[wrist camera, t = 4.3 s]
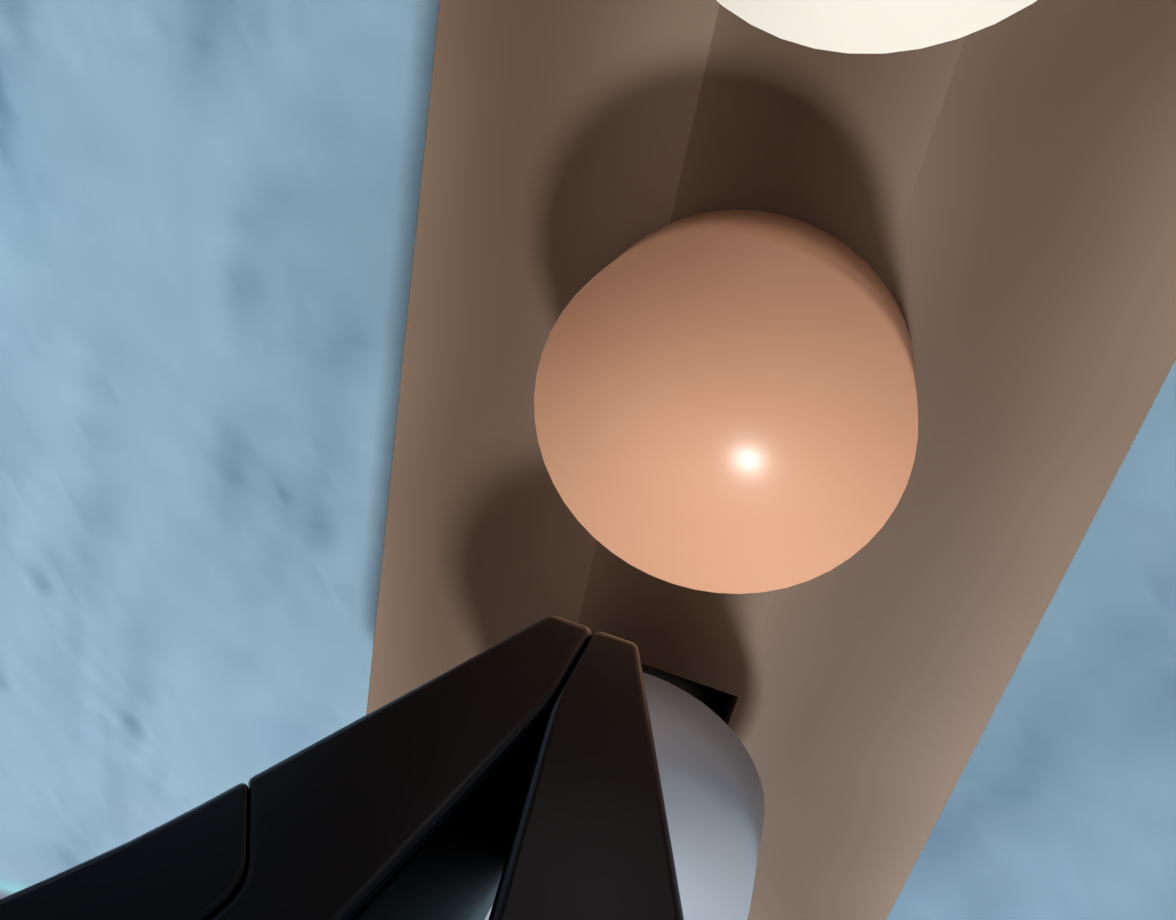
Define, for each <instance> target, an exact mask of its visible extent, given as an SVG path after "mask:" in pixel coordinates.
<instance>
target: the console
mask: <svg viewBox="0 0 1176 920" xmlns="http://www.w3.org/2000/svg"><path fill="white" fill-rule="evenodd" d="M734 209H737V210H758V211H764V212H770V213H775V214H781V215H785V216H788V217H791V218H794V219H797V220H800V221H803V222H806V223H808V224H810V225H813V226H815V227H817V228H819V229H821V230H823V231H825V232H827V233H829V234H830V235H832V236H834V237H835V238H837V239H838V240H840V241H841V242H843V243H844V244H846V245H847V246H849V247H850V248H851V249H852V250H853V251H854V252H856V253H857V254H858V255H859V256H860V257H861V258H862V259H864V260H865V261H866V262H867V263H868V264H869V265H870V267H871V268H872V269H873V270H874V271H875V272H876V274H877V275H878V276H879V277H880V278H881V279H882V280H883V282H884V283H885V285H886V287H887V288H888V290H889V291H890V293H891V294H892V296H893V297H894V299H895V301H896V303H897V305H898V307H899V309H900V311H901V314H902V316H903V318H904V320H905V322H906V326H907V329H908V332H909V336H910V339H911V343H912V348H913V355H914V362H915V372H916V388H917V403H918V441H917V447H916V454H915V460H914V464H913V468H912V471H911V474H910V477H909V480H908V483H907V486H906V488H905V490H904V492H903V494H902V496H901V498H900V500H899V503H898V505H897V507H896V508H895V510H894V511H893V513H892V514H891V515H890V517H889V518H888V520H887V521H886V523H885V524H884V526H883V527H882V528H881V529H880V530H879V531H878V532H877V534H876V535H875V536H874V537H873V538H872V539H871V540H870V541H869V542H868V543H867V544H866V545H865V546H864V547H863V548H861V549H860V550H859V551H858V552H857V553H855V554H854V555H853V556H852V557H851V558H849V559H848V560H846V561H845V562H843V563H842V564H840V565H838V566H837V567H835V568H834V569H832V570H830V571H829V572H826V573H824V574H822V575H820V576H818V577H816V578H813V579H811V580H809V581H806V582H803V583H800V584H797V585H794V586H791V587H788V588H783V589H778V590H773V591H767V592H760V593H747V594H729V593H714V592H707V591H701V590H694V589H690V588H687V587H683V586H679V585H676V584H672V583H669V582H667V581H664V580H662V579H659V578H656V577H654V576H651V575H649V574H647V573H645V572H643V571H641V570H640V569H638V568H636V567H634V566H632V565H630V564H628V563H627V562H625V561H624V560H622V559H621V558H619V557H618V556H617V555H615V554H614V553H612V552H611V551H609V550H608V549H607V548H606V547H605V546H603V545H602V544H601V543H600V542H599V541H598V540H596V539H595V538H594V537H593V536H592V535H591V534H590V533H589V532H588V531H587V530H586V529H585V528H584V527H583V525H582V524H581V523H580V522H579V521H578V520H577V519H576V517H575V516H574V515H573V513H572V512H571V511H570V509H569V508H568V507H567V505H566V504H565V503H564V501H563V499H562V498H561V496H560V494H559V493H558V491H557V489H556V487H555V486H554V484H553V482H552V480H551V477H550V475H549V473H548V470H547V468H546V466H545V463H544V460H543V457H542V453H541V450H540V447H539V443H538V438H537V432H536V425H535V417H534V393H535V383H536V375H537V371H538V367H539V363H540V359H541V355H542V352H543V349H544V347H545V344H546V342H547V339H548V337H549V334H550V332H551V330H552V328H553V327H554V325H555V323H556V321H557V320H558V318H559V316H560V315H561V313H562V311H563V310H564V309H565V308H566V306H567V305H568V304H569V302H570V301H571V300H572V299H573V297H574V296H575V295H576V294H577V293H578V292H579V291H580V290H581V289H582V288H583V287H584V286H585V285H586V284H587V283H588V282H589V281H590V280H591V279H592V278H593V277H594V276H596V275H597V274H598V273H599V272H600V271H602V270H603V269H604V268H605V267H606V266H608V265H609V264H610V263H611V262H613V261H614V260H615V259H616V258H617V257H619V256H620V255H621V254H622V253H623V252H625V251H626V250H627V249H628V248H630V247H631V246H632V245H634V244H635V243H636V242H638V241H639V240H641V239H642V238H643V237H645V236H646V235H648V234H650V233H652V232H654V231H655V230H657V229H659V228H661V227H663V226H665V225H667V224H669V223H672V222H675V221H678V220H680V219H683V218H686V217H689V216H693V215H697V214H702V213H706V212H711V211H722V210H734ZM1175 360H1176V0H1037V1H1036V2H1034V3H1033V4H1031V5H1029V6H1027V7H1025V8H1023V9H1022V10H1020V11H1018V12H1016V13H1014V14H1012V15H1011V16H1009V17H1007V18H1005V19H1003V20H1001V21H1000V22H998V23H996V24H994V25H991V26H989V27H986V28H984V29H981V30H979V31H976V32H974V33H971V34H969V35H966V36H964V37H961V38H959V39H956V40H952V41H948V42H944V43H941V44H937V45H933V46H929V47H926V48H922V49H915V50H908V51H900V52H893V53H885V54H848V53H841V52H834V51H827V50H821V49H814V48H810V47H807V46H804V45H800V44H797V43H794V42H790V41H787V40H784V39H781V38H778V37H776V36H774V35H772V34H770V33H768V32H766V31H763V30H761V29H759V28H757V27H755V26H753V25H751V24H749V23H748V22H746V21H745V20H743V19H741V18H740V17H738V16H737V15H735V14H734V13H732V12H731V11H729V10H728V9H726V8H725V7H723V6H722V5H721V4H720V3H719V2H717V1H716V0H440V4H439V13H438V23H437V33H436V43H435V52H434V62H433V72H432V81H431V91H430V101H429V111H428V120H427V130H426V140H425V149H424V159H423V169H422V179H421V188H420V198H419V208H418V217H417V227H416V237H415V247H414V256H413V266H412V276H411V286H410V295H409V305H408V315H407V324H406V334H405V344H404V354H403V363H402V373H401V383H400V392H399V402H398V412H397V422H396V431H395V441H394V451H393V461H392V470H391V480H390V490H389V499H388V509H387V519H386V529H385V538H384V548H383V558H382V567H381V577H380V587H379V597H378V606H377V616H376V626H375V635H374V645H373V655H372V665H371V674H370V684H369V694H368V704H367V713H366V715H368V714H369V713H371V712H373V711H375V710H377V709H379V708H380V707H382V706H384V705H386V704H388V703H390V702H391V701H393V700H395V699H397V698H399V697H401V696H402V695H404V694H406V693H408V692H410V691H412V690H413V689H415V688H417V687H419V686H421V685H423V684H424V683H426V682H428V681H430V680H432V679H434V678H435V677H437V676H439V675H441V674H443V673H445V672H446V671H448V670H450V669H452V668H454V667H456V666H457V665H459V664H461V663H463V662H465V661H467V660H468V659H470V658H472V657H474V656H476V655H478V654H479V653H481V652H483V651H485V650H487V649H489V648H490V647H492V646H494V645H496V644H498V643H500V642H501V641H503V640H505V639H507V638H509V637H511V636H512V635H514V634H516V633H518V632H520V631H522V630H523V629H525V628H527V627H529V626H531V625H533V624H534V623H536V622H538V621H540V620H542V619H544V618H546V617H548V616H557V617H560V618H563V619H566V620H569V621H572V622H574V623H577V624H580V625H583V626H586V627H588V628H589V629H590V630H591V634H592V635H593V634H594V633H596V632H604V633H607V634H610V635H613V636H616V637H619V638H622V639H624V640H627V641H630V642H633V643H634V644H636V646H637V647H638V650H639V654H640V660H641V663H642V664H645V665H648V666H650V667H653V668H656V669H659V670H662V671H665V672H668V673H671V674H674V675H676V676H679V677H682V678H685V679H688V680H691V681H694V682H697V683H700V684H702V685H705V686H708V687H711V688H714V689H717V690H720V691H723V692H725V693H728V694H730V696H729V699H728V702H727V705H726V708H725V711H724V714H723V717H722V720H723V721H724V722H725V723H726V724H727V725H728V726H729V727H730V728H731V729H732V731H733V732H734V733H735V734H736V736H737V737H738V738H739V740H740V741H741V742H742V744H743V745H744V746H745V748H746V750H747V752H748V753H749V755H750V757H751V759H752V760H753V762H754V765H755V767H756V770H757V772H758V775H759V777H760V780H761V785H762V789H763V793H764V805H765V814H764V823H763V830H762V836H761V842H760V848H759V855H758V861H757V867H756V873H755V879H754V885H753V891H752V897H751V904H750V910H749V915H748V918H747V920H886V919H887V917H888V915H889V913H890V911H891V909H892V907H893V905H894V903H895V901H896V899H897V898H898V896H899V894H900V892H901V890H902V888H903V886H904V884H905V882H906V880H907V878H908V876H909V874H910V872H911V870H912V869H913V867H914V865H915V863H916V861H917V859H918V857H919V855H920V853H921V851H922V849H923V847H924V845H925V843H926V841H927V839H928V838H929V836H930V834H931V832H932V830H933V828H934V826H935V824H936V822H937V820H938V818H939V816H940V814H941V812H942V810H943V809H944V807H945V805H946V803H947V801H948V799H949V797H950V795H951V793H952V791H953V789H954V787H955V785H956V783H957V781H958V779H959V778H960V776H961V774H962V772H963V770H964V768H965V766H966V764H967V762H968V760H969V758H970V756H971V754H972V752H973V750H974V749H975V747H976V745H977V743H978V741H979V739H980V737H981V735H982V733H983V731H984V729H985V727H986V725H987V723H988V721H989V720H990V718H991V716H992V714H993V712H994V710H995V708H996V706H997V704H998V702H999V700H1000V698H1001V696H1002V694H1003V692H1004V690H1005V689H1006V687H1007V685H1008V683H1009V681H1010V679H1011V677H1012V675H1013V673H1014V671H1015V669H1016V667H1017V665H1018V663H1019V661H1020V660H1021V658H1022V656H1023V654H1024V652H1025V650H1026V648H1027V646H1028V644H1029V642H1030V640H1031V638H1032V636H1033V634H1034V632H1035V630H1036V629H1037V627H1038V625H1039V623H1040V621H1041V619H1042V617H1043V615H1044V613H1045V611H1046V609H1047V607H1048V605H1049V603H1050V601H1051V600H1052V598H1053V596H1054V594H1055V592H1056V590H1057V588H1058V586H1059V584H1060V582H1061V580H1062V578H1063V576H1064V574H1065V572H1066V571H1067V569H1068V567H1069V565H1070V563H1071V561H1072V559H1073V557H1074V555H1075V553H1076V551H1077V549H1078V547H1079V545H1080V543H1081V541H1082V540H1083V538H1084V536H1085V534H1086V532H1087V530H1088V528H1089V526H1090V524H1091V522H1092V520H1093V518H1094V516H1095V514H1096V512H1097V511H1098V509H1099V507H1100V505H1101V503H1102V501H1103V499H1104V497H1105V495H1106V493H1107V491H1108V489H1109V487H1110V485H1111V483H1112V481H1113V480H1114V478H1115V476H1116V474H1117V472H1118V470H1119V468H1120V466H1121V464H1122V462H1123V460H1124V458H1125V456H1126V454H1127V452H1128V451H1129V449H1130V447H1131V445H1132V443H1133V441H1134V439H1135V437H1136V435H1137V433H1138V431H1139V429H1140V427H1141V425H1142V423H1143V421H1144V420H1145V418H1146V416H1147V414H1148V412H1149V410H1150V408H1151V406H1152V404H1153V402H1154V400H1155V398H1156V396H1157V394H1158V392H1159V391H1160V389H1161V387H1162V385H1163V383H1164V381H1165V379H1166V377H1167V375H1168V373H1169V371H1170V369H1171V367H1172V365H1173V363H1174V362H1175Z"/></svg>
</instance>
